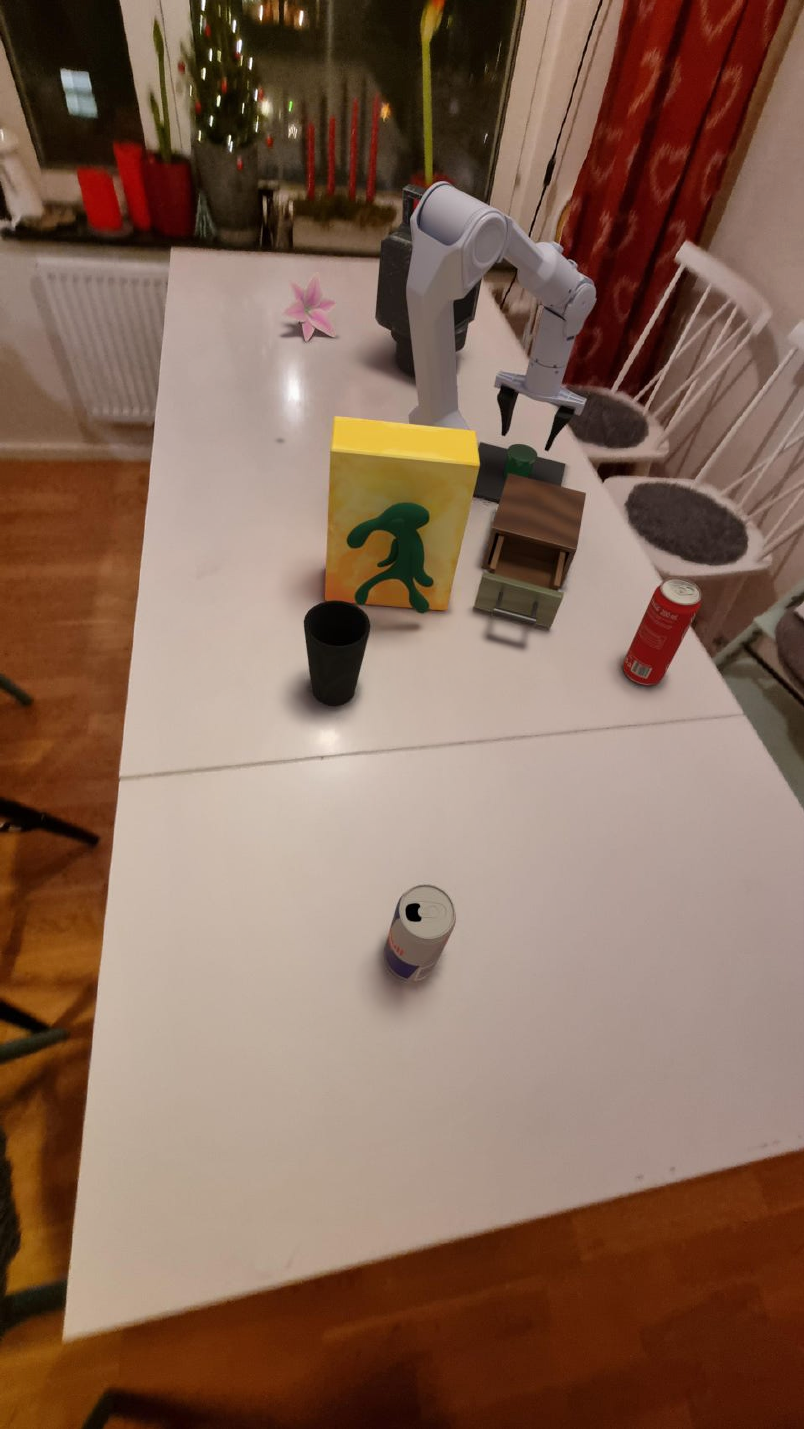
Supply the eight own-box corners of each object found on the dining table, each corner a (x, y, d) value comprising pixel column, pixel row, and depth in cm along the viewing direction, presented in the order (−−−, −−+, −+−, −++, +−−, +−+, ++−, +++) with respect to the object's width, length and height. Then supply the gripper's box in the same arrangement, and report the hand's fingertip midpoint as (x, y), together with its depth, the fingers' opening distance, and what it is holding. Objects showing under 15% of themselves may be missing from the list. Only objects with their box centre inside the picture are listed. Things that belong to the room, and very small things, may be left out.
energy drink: (381, 930, 71) (394, 882, 61) (433, 928, 72) (453, 880, 62) (385, 984, 68) (399, 942, 58) (439, 981, 68) (461, 940, 59)
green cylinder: (505, 484, 120) (511, 461, 116) (498, 467, 123) (504, 443, 119) (533, 485, 121) (541, 461, 117) (526, 467, 124) (533, 444, 120)
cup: (317, 720, 86) (319, 655, 76) (293, 676, 90) (293, 609, 80) (373, 701, 89) (382, 637, 79) (348, 659, 92) (353, 593, 83)
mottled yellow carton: (322, 628, 95) (327, 475, 76) (327, 567, 103) (333, 415, 84) (448, 637, 97) (483, 490, 78) (444, 577, 104) (476, 430, 85)
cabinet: (561, 588, 106) (576, 549, 100) (481, 567, 107) (492, 527, 101) (571, 532, 115) (586, 492, 109) (497, 512, 116) (508, 472, 110)
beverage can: (662, 691, 96) (713, 613, 84) (615, 680, 96) (660, 601, 84) (661, 660, 99) (710, 581, 87) (616, 650, 99) (658, 569, 87)
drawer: (546, 649, 97) (558, 620, 92) (467, 628, 97) (475, 597, 93) (561, 568, 107) (573, 538, 103) (490, 550, 108) (498, 519, 104)
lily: (273, 343, 144) (288, 309, 135) (273, 296, 146) (288, 260, 138) (327, 361, 149) (345, 329, 141) (327, 315, 152) (344, 282, 144)
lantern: (473, 364, 146) (506, 193, 122) (429, 396, 136) (456, 218, 112) (412, 339, 149) (433, 168, 126) (366, 368, 139) (379, 190, 116)
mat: (462, 493, 118) (462, 490, 117) (479, 444, 128) (480, 442, 127) (554, 517, 117) (555, 514, 116) (564, 466, 126) (565, 463, 126)
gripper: (601, 362, 106) (573, 443, 117) (512, 334, 109) (493, 416, 120) (589, 382, 102) (562, 463, 113) (498, 352, 105) (479, 435, 115)
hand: (526, 440), depth 116 cm, fingers open, 7 cm apart
